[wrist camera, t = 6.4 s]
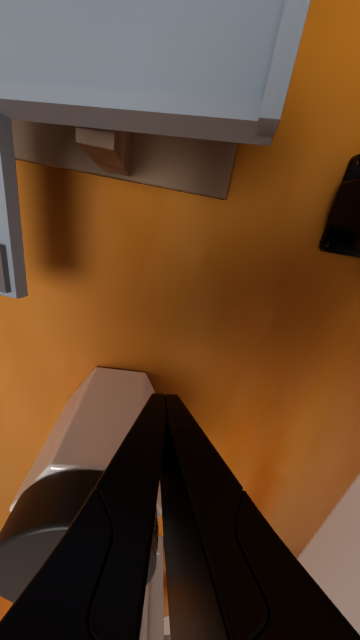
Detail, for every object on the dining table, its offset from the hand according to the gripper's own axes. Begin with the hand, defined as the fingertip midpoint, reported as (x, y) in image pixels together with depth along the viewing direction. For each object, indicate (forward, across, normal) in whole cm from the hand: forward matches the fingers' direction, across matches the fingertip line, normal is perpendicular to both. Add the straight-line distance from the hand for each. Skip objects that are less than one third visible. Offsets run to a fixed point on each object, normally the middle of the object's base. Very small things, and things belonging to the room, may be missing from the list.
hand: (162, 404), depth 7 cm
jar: (+12, +3, +11) cm, 17 cm away
